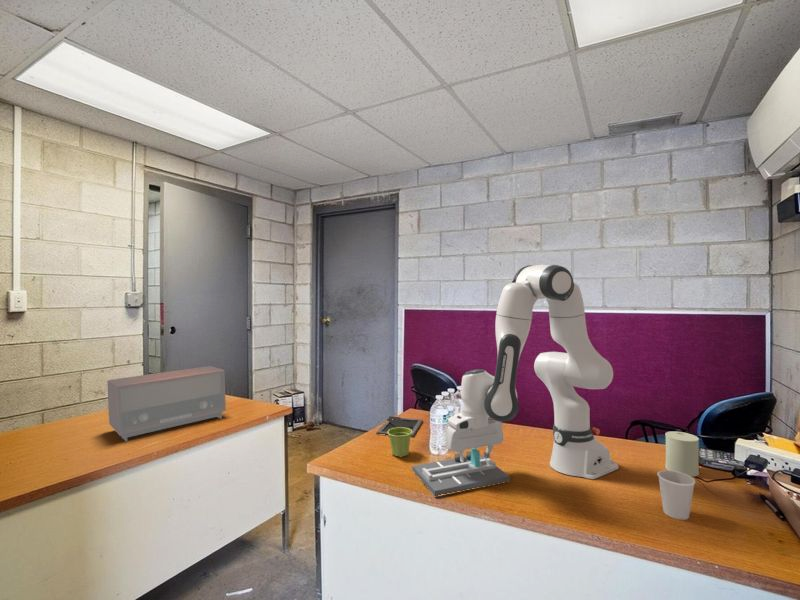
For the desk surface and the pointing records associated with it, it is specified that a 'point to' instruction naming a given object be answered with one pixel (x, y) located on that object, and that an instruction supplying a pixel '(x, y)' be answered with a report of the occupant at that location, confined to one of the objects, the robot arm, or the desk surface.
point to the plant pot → (400, 440)
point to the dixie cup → (676, 493)
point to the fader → (475, 458)
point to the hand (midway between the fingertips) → (475, 459)
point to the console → (458, 475)
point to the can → (682, 453)
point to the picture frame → (400, 424)
